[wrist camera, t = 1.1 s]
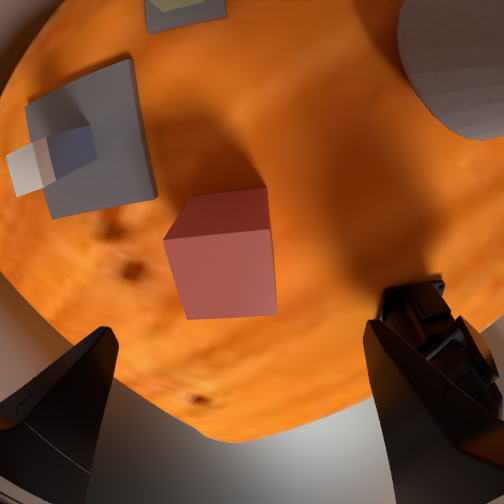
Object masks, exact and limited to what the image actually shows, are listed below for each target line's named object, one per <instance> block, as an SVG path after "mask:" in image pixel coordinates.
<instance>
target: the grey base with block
mask: <svg viewBox="0 0 504 504" xmlns="http://www.w3.org/2000/svg"><path fill="white" fill-rule="evenodd" d="M144 1H145V13H146V23H147V32H148V33H150V34H156V33H159V32H163V31H166V30H170V29H174V28H178V27H182V26H186V25H191V24H195V23H200V22H205V21H211V20H216V19H222V18H228V17H227V10H226V3H225V0H144Z"/></svg>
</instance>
